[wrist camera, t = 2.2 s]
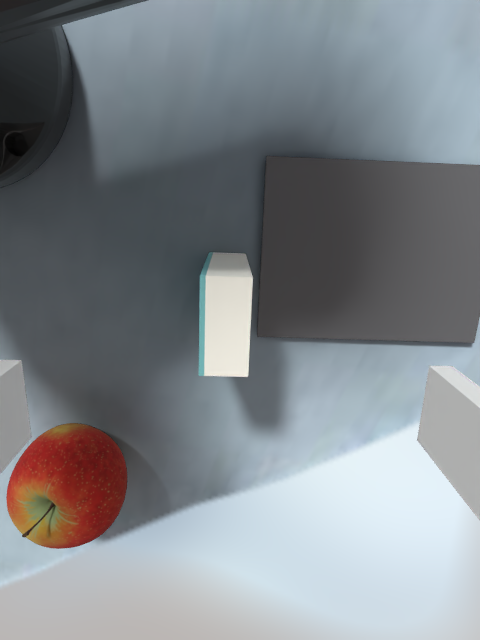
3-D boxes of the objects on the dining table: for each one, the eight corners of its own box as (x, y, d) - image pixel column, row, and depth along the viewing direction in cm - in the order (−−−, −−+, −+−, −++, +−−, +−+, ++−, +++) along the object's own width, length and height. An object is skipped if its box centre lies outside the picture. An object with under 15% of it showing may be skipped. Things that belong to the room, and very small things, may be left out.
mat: (257, 334, 33) (257, 336, 32) (266, 156, 29) (266, 156, 28) (469, 340, 33) (474, 342, 33) (504, 167, 30) (510, 166, 29)
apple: (111, 503, 37) (69, 610, 27) (26, 461, 35) (-50, 559, 26) (156, 433, 35) (128, 522, 25) (68, 387, 33) (3, 462, 24)
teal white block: (208, 323, 32) (198, 375, 23) (209, 252, 31) (199, 275, 21) (242, 324, 32) (248, 376, 23) (245, 253, 31) (252, 277, 21)
